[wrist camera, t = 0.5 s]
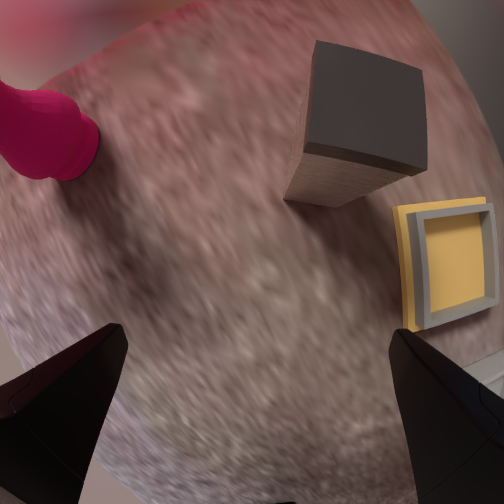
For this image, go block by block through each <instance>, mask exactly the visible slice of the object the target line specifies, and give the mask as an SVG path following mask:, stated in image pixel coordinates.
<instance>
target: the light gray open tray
mask: <svg viewBox="0 0 504 504" xmlns="http://www.w3.org/2000/svg"><path fill="white" fill-rule="evenodd" d="M462 369H463V370H465V371H466V372H467V373H469V374H470V375H471V376H473V377H474V378H475V379H477V380H478V381H479V383H480V382H481V383H482V384H483V385H485V386H486V387H487V388H489V389H490V390H491V391H493V392H494V393H495V394H497V395H498V396H500V397H501V398H503V399H504V349H502V350H500V351H498V352H496V353H494V354H492V355H490V356H488V357H486V358H484V359H482V360H480V361H478V362H476V363H473V364H471V365H469V366H467V367H464V368H462Z"/></svg>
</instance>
